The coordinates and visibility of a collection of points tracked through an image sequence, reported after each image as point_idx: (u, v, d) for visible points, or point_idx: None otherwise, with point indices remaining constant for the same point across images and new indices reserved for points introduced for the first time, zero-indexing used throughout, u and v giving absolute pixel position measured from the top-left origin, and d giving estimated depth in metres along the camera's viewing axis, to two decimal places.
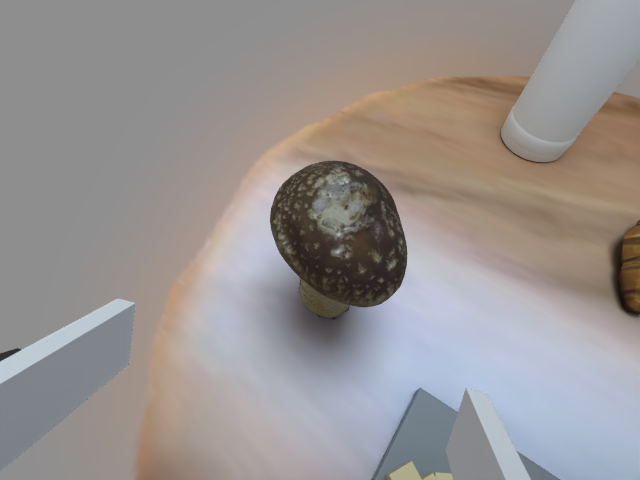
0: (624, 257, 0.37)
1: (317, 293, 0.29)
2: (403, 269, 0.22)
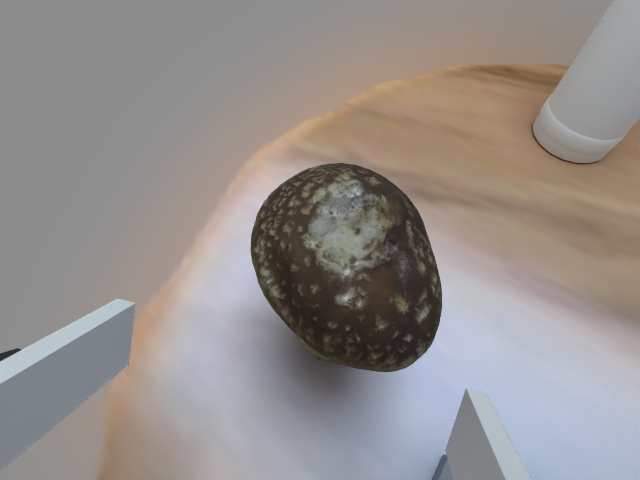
0: None
1: None
2: (438, 318, 0.16)
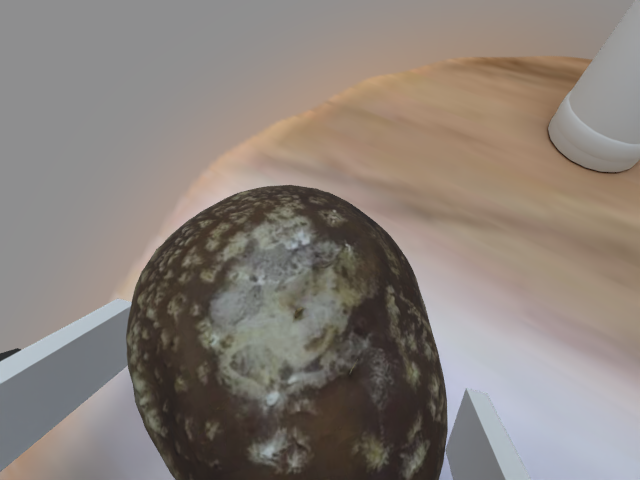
0: None
1: None
2: (441, 457, 0.09)
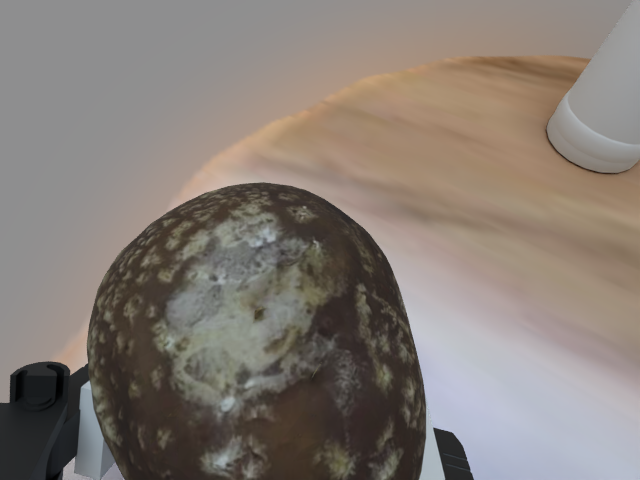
0: None
1: None
2: (418, 467, 0.09)
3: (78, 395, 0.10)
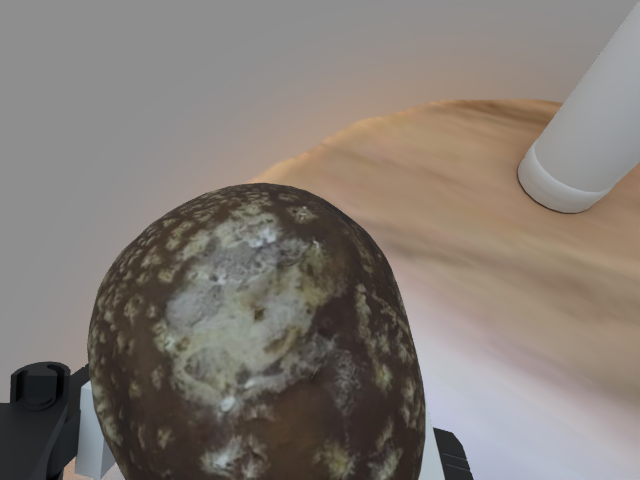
0: None
1: None
2: (417, 466, 0.09)
3: (78, 395, 0.10)
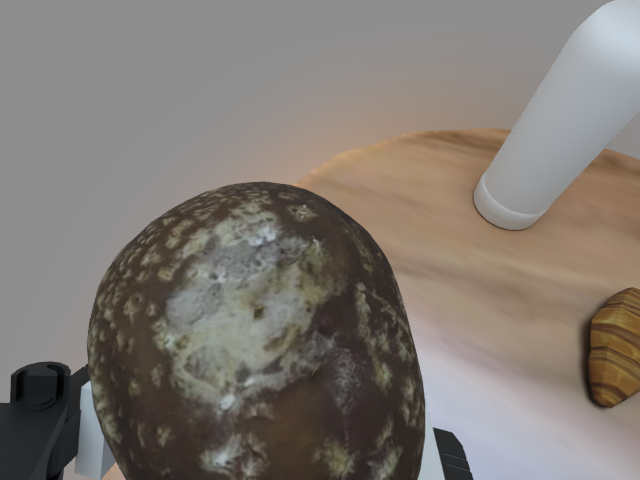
0: (592, 344, 0.35)
1: None
2: (417, 465, 0.09)
3: (79, 395, 0.10)
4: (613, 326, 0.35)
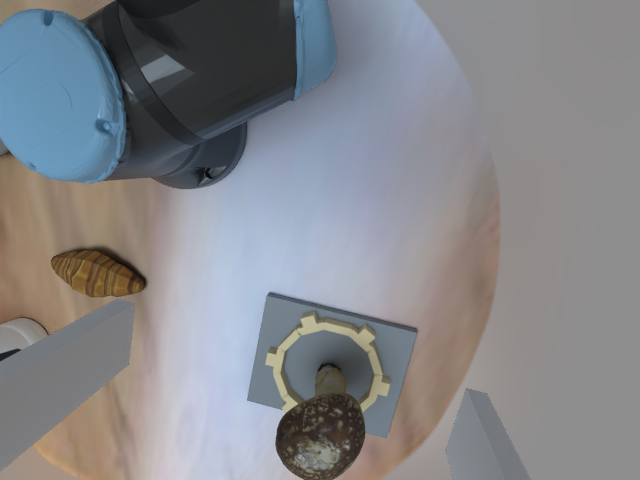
0: (107, 295, 0.53)
1: None
2: (335, 399, 0.38)
3: None
4: (87, 294, 0.51)
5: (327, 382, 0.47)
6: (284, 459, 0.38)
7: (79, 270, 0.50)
